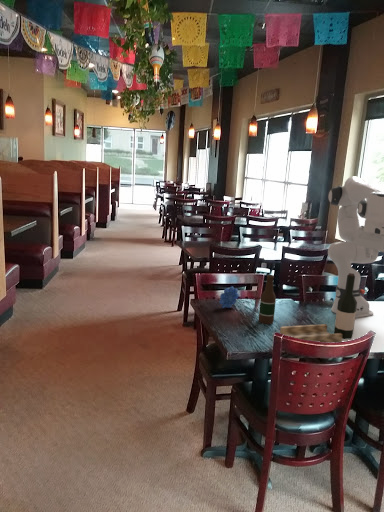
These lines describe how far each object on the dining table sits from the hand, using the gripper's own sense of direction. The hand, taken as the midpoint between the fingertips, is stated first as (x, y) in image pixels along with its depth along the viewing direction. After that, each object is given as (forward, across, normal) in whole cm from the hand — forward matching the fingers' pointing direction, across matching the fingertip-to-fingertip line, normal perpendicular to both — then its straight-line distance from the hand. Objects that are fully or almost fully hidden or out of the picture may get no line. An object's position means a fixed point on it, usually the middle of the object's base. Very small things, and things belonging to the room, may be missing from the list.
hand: (370, 258), depth 193 cm
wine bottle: (+37, 0, -9) cm, 38 cm away
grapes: (+37, -46, -49) cm, 77 cm away
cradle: (+37, 0, -26) cm, 46 cm away
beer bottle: (+37, -22, -38) cm, 58 cm away
